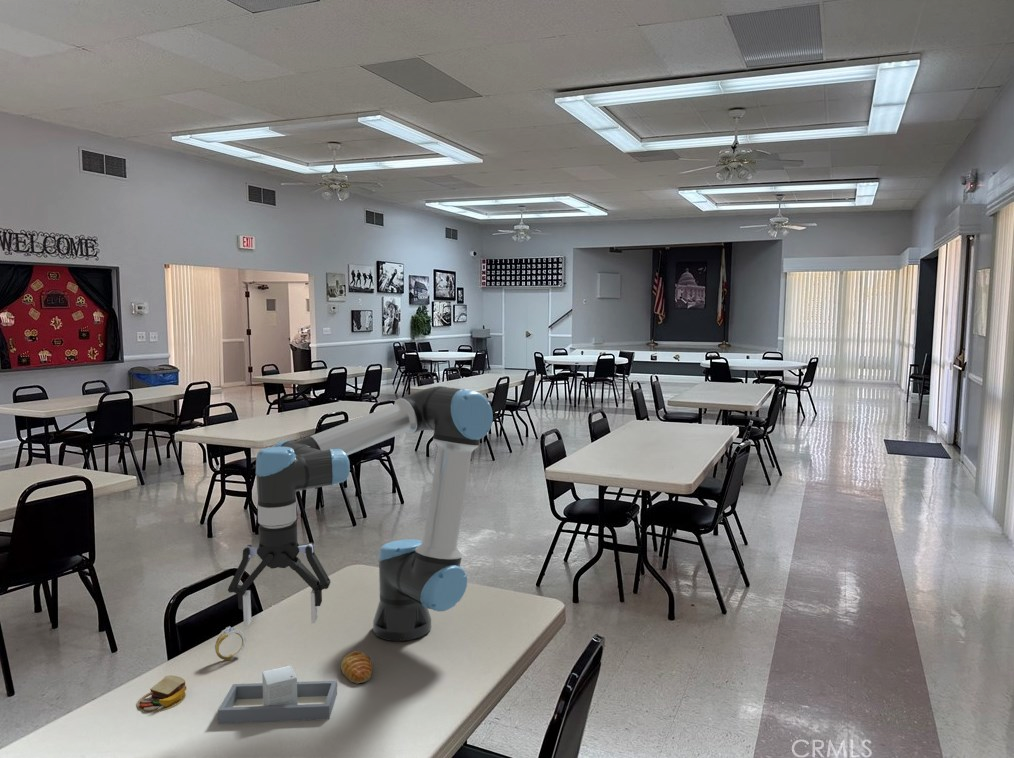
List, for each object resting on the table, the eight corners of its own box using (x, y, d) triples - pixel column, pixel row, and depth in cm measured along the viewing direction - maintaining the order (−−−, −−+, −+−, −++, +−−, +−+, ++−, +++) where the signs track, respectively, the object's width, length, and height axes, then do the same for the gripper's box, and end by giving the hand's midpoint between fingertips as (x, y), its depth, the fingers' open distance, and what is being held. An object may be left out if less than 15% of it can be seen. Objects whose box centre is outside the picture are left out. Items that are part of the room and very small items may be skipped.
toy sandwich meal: (127, 708, 147) (126, 692, 147) (170, 685, 156) (169, 670, 156) (155, 720, 143) (155, 704, 143) (198, 696, 152) (197, 681, 152)
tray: (337, 695, 152) (337, 680, 152) (329, 722, 142) (329, 706, 142) (233, 699, 150) (233, 684, 150) (218, 726, 140) (217, 710, 140)
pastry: (378, 682, 158) (378, 666, 157) (348, 688, 155) (348, 672, 154) (366, 662, 166) (367, 647, 166) (338, 668, 163) (338, 652, 162)
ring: (216, 666, 165) (215, 633, 164) (214, 660, 167) (213, 628, 167) (247, 658, 168) (246, 626, 168) (244, 653, 171) (243, 621, 170)
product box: (292, 697, 151) (291, 664, 150) (298, 711, 145) (297, 677, 144) (262, 704, 148) (261, 671, 147) (267, 719, 142) (266, 684, 142)
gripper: (342, 515, 148) (344, 611, 151) (220, 519, 146) (225, 616, 148) (336, 526, 141) (339, 627, 143) (208, 530, 139) (213, 632, 141)
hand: (281, 622), depth 146 cm, fingers open, 13 cm apart
